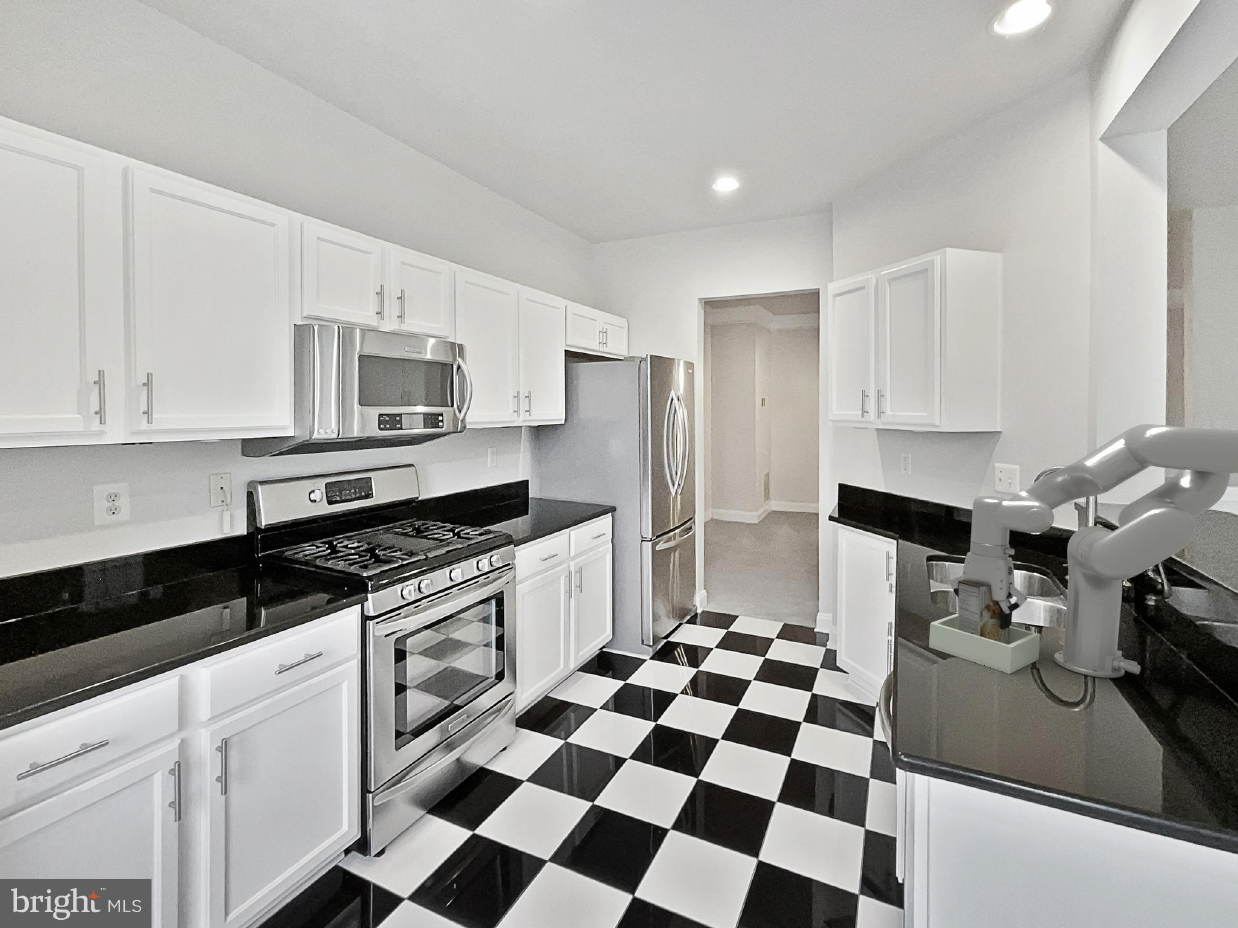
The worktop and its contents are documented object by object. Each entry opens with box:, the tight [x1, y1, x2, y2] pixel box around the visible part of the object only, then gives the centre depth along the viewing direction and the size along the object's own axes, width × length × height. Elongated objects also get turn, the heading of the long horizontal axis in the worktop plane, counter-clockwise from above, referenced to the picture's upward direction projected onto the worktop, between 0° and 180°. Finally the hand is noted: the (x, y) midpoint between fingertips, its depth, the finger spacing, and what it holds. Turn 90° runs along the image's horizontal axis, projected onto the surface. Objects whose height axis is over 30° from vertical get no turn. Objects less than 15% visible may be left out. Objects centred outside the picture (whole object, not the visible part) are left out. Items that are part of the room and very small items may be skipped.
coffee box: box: [957, 580, 1009, 645], centre depth 146 cm, size 9×6×16 cm
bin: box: [928, 612, 1041, 675], centre depth 146 cm, size 18×14×6 cm
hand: (984, 622), depth 146 cm, fingers open, 8 cm apart
